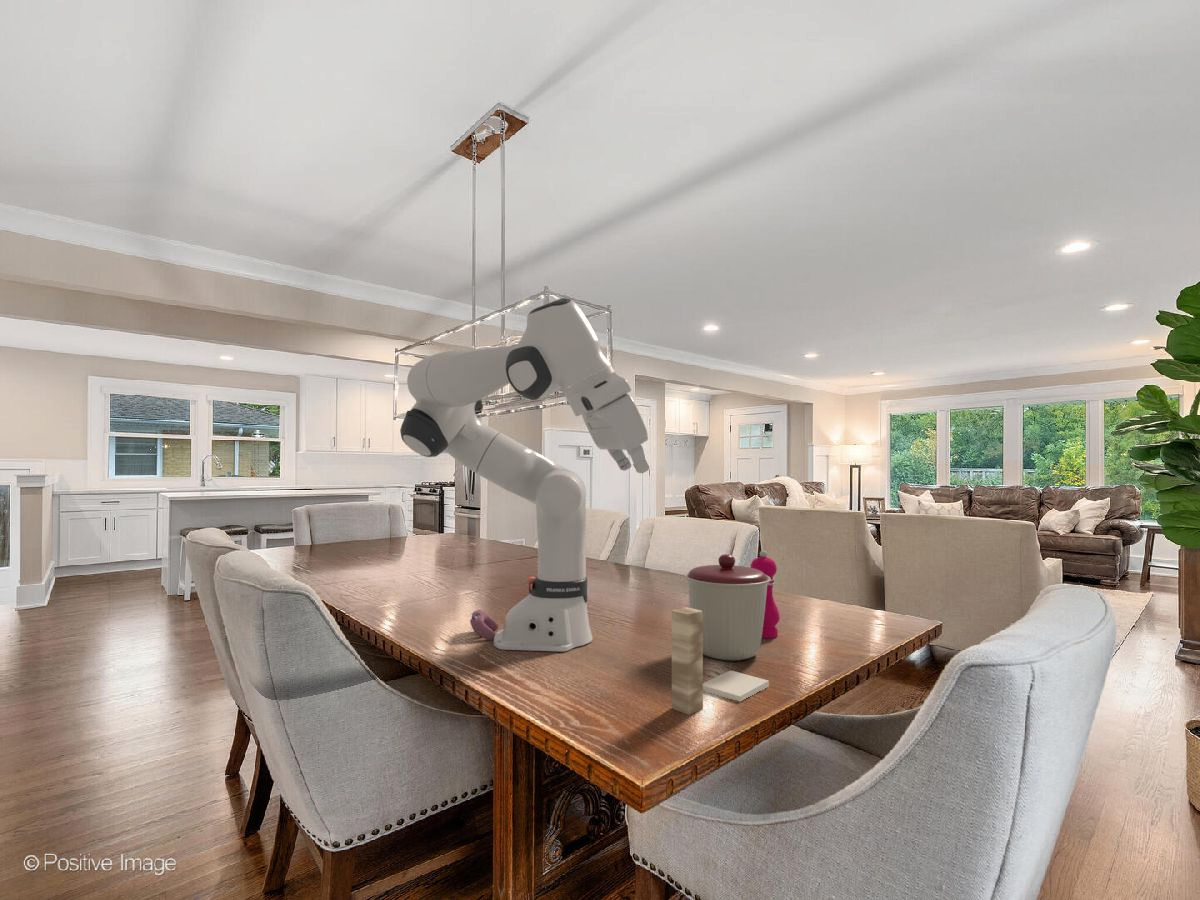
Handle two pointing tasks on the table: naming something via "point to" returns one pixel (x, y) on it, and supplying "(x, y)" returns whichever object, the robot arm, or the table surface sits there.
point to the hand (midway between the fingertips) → (635, 470)
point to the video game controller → (483, 624)
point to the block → (687, 660)
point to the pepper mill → (768, 595)
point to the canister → (729, 607)
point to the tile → (735, 685)
